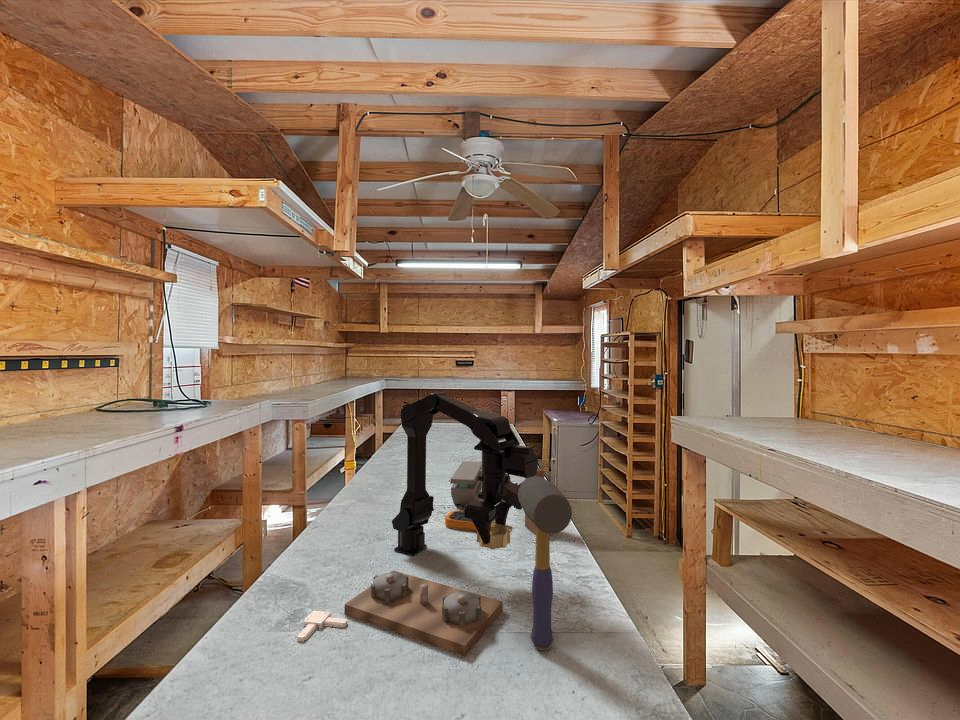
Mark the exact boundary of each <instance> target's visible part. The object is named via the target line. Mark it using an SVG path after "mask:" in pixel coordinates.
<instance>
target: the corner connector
mask: <svg viewBox="0 0 960 720" xmlns="http://www.w3.org/2000/svg"><path fill="white" fill-rule="evenodd" d="M331 615H332V613H331V612H330V611H323V610H312V612H311V613H309V615H307V616H306V618H305V619H304V620H303V622H302V623H303V627H304V626H306V627H304V628H303V629H302V630H301V631H300V632H299V634H297V635H296V639H297V642H300V641H303V642H305V641H307V640H308V639H309V638H310V637H311V636H312V635H313V633H314V632H315V631H316V630H317V629H320V628H321V629H323V627H331V628H345V627H347V625H348V618H341V617H334V616H333V617H332V616H331ZM332 626H333V627H332ZM304 640H305V641H304Z"/></svg>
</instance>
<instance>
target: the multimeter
mask: <svg viewBox="0 0 960 720" xmlns="http://www.w3.org/2000/svg"><path fill="white" fill-rule="evenodd" d="M444 523H445V527H446V528H448V527H449V528H448V529H453V528H456V529H455V530H462V529H464V531H470V530H471V531H472V532H477V529H476V527H475V525H474V523H473V521H472V520H471V519H470V518H465V517H464V510H461V509H460V510H459V509H457V510H452V511H450V512H449V513H447V514H446V515H445V517H444ZM492 523H496V522H495V519H494V520H493V521H492ZM492 523H491V524H492ZM505 525H506V526H507V521H506V522H505Z"/></svg>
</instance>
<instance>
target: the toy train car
mask: <svg viewBox="0 0 960 720" xmlns="http://www.w3.org/2000/svg"><path fill="white" fill-rule="evenodd" d="M481 474H482V461H478V460H477V461H476V460H475V461H473V460H462V462H461V463H460V464H459V466H458V468H457V469H456V471H455V472H454V473H453V475H452V476H451V477H450V479H449V480H450V482H449V483H450V484H451V485H452V486H451V487H450V496H451V499H452V502H453V505H454V504H464V505H463V506H466V505H467V504H469V503H470V502H472V501H473V500H478V499H479V500H480V498H478V494H479V493H480V492H481V486H482V481H479V480H478V476H479V475H481ZM479 500H478V501H479Z"/></svg>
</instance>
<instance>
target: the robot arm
mask: <svg viewBox="0 0 960 720" xmlns="http://www.w3.org/2000/svg"><path fill="white" fill-rule="evenodd" d="M439 413H441V414H443V415H446V416H447V417H449V418H451V419H453V420H454V421H457V422H459V423H460V424H462V425H464V426H465V427H468V429H470V431H471V433H472V434H473V436H475V438H477V439H478V440H479V442H477V444H476V445H475V446H473V450H475V451H479V452H480V451H481V462H482V469H481V471H482V474H481V475H479V476H478V480H479V481H482V486H481V492H480V493H479V494H478V498H479V500H473V501H472V502H470V503H469V504H467V505H464V507H463V511H464V517H465V518H470V519H471V520H472V521H473V523H474V525H475V527H476V529H477V531H478V533H479V535H480V537H481V539H482V541H483V543H484V544H488V543H489V538H490V530H491V523H492V521H493V520H494V519H495V522H496V523H497V524H501V525H505V522H506V523H507V518H508V514H509V511H510V509H511V507H513V508H514V509H516V510H519V511H520V510H523V508H522V506H521V504H520V502H519V500H518V490H519V487H520V485H521V483H522V482H523V481H522V482H520V483H519V484H518V482H512V481H511V476H515V477H518V478H519V477H520V478H524V479H525V478H529V477H533V476H535V474H536V472H537V469H538V467H539V459H538V456H537V454H536V453H535V452H534V447H533V446H531V445H527V446H525V445H521V444H520V441H519V439H518V438H517V435H516V434H515V433H514V431H513V429H512V427H511V425H510V420H509V419H508V418H507V417H506V416H504V415H500V414H496V413H493V412H485V411H481V410H478V409H476V408H474V407H472V406H471V405H468V404H466V403H464V402H462V401H460V400H458V399H456V398H454V397H453V396H452V397H451V395H449V394H447V393H445V392H442V391H440V392H432V393H430V394H428V395H427V396H425V397H423V398H421V399H418V400H416V401H414V402H412V403H410V402H409V403H406V404H404V406H403V407H401V409H400V419H401V421H400V422H401V428H402V429H403V431H404V432H405V434H406V436H407V442H406V443H407V447H406V448H407V453H406V454H407V455H406V458H407V460H406V461H407V462H406V464H407V465H406V466H407V467H406V491H405V493H404V494H403V497H402V498H401V500H400V508H399V512H398V513H397V514H396V515H395V517H394V518H393V519H391V524H392V529H393V530H395V531H397V547H394V549H393V550H394V552H397V553H403V554H405V555H409V556H415V555H417V554H418V553H420V552H421V551H422V550H425V549H426V548H427V546H428V545H427V544H426V543H425V542H426V537H425V536H426V533H425V532H424V530H425V529H424V525H427V524H429V520H430V518H431V517H432V516H433V515H432V514H433V512H434V511H435V509H434V508H435V507H434V500H435V499H434V496H433V495H430V494H429V492H428V490H427V488H426V487H427V486H426V485H427V482H426V481H427V435H428V433H429V431H431V428H432V426H433V422H434V421H433V418H434V416H436V415H437V414H439ZM480 499H481V500H480ZM477 531H476V532H477Z"/></svg>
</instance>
